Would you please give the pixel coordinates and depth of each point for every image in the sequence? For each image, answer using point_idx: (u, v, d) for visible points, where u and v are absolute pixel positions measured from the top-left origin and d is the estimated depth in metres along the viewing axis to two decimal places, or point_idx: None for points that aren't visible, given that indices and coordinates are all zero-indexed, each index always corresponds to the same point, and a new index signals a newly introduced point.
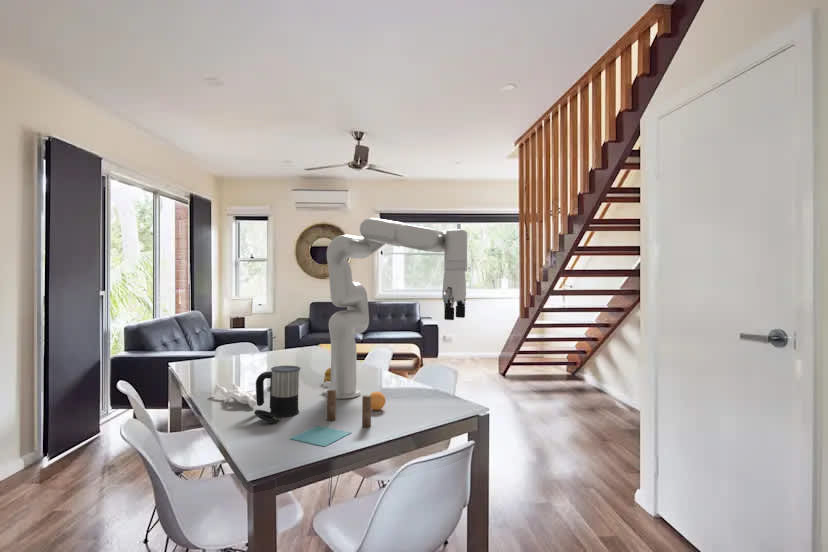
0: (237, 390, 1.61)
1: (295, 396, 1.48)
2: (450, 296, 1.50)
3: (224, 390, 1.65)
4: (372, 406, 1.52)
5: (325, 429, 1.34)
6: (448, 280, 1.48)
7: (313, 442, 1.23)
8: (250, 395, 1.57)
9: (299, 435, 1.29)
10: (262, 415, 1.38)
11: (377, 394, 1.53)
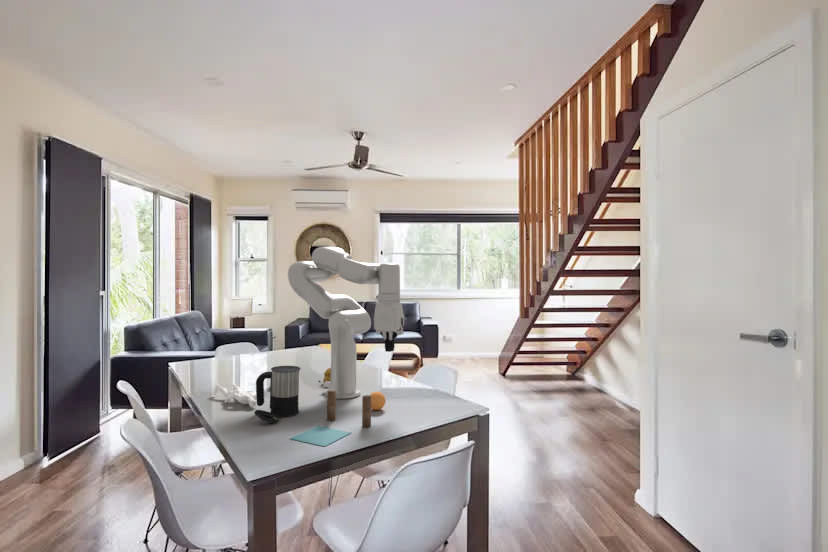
0: (237, 390, 1.61)
1: (295, 396, 1.48)
2: None
3: (224, 390, 1.65)
4: (372, 406, 1.52)
5: (325, 429, 1.34)
6: (400, 311, 1.58)
7: (313, 442, 1.23)
8: (250, 395, 1.57)
9: (299, 435, 1.29)
10: (262, 415, 1.38)
11: (377, 394, 1.53)
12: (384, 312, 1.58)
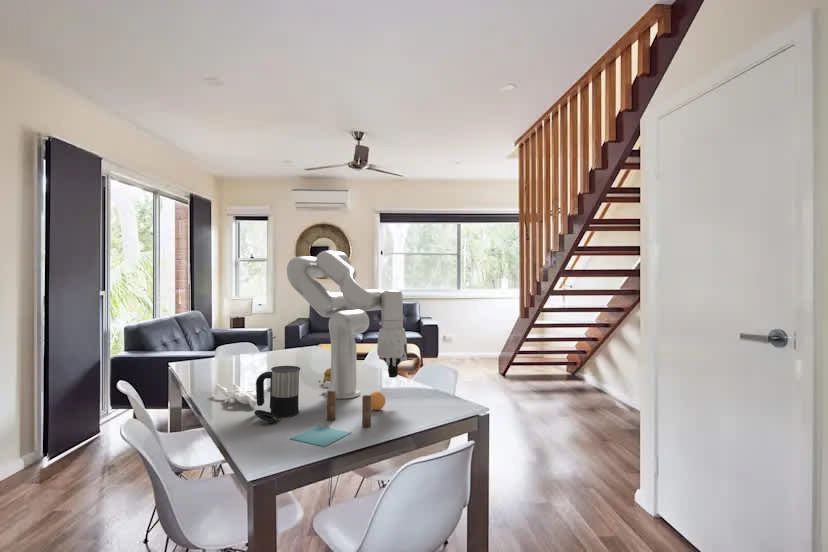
0: (238, 390, 1.61)
1: (295, 396, 1.48)
2: None
3: (225, 390, 1.65)
4: (372, 406, 1.52)
5: (325, 429, 1.34)
6: (404, 338, 1.60)
7: (313, 442, 1.23)
8: (251, 395, 1.57)
9: (299, 435, 1.29)
10: (262, 415, 1.38)
11: (377, 394, 1.53)
12: (387, 339, 1.60)
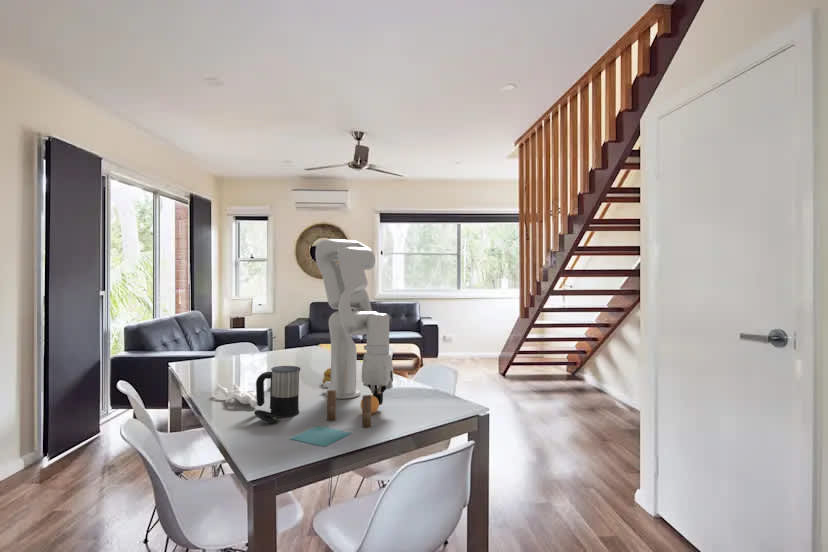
0: (238, 390, 1.61)
1: (295, 396, 1.48)
2: None
3: (225, 390, 1.65)
4: None
5: (325, 429, 1.34)
6: (390, 364, 1.52)
7: (313, 442, 1.23)
8: (251, 395, 1.57)
9: (299, 435, 1.29)
10: (262, 415, 1.38)
11: None
12: (373, 365, 1.52)
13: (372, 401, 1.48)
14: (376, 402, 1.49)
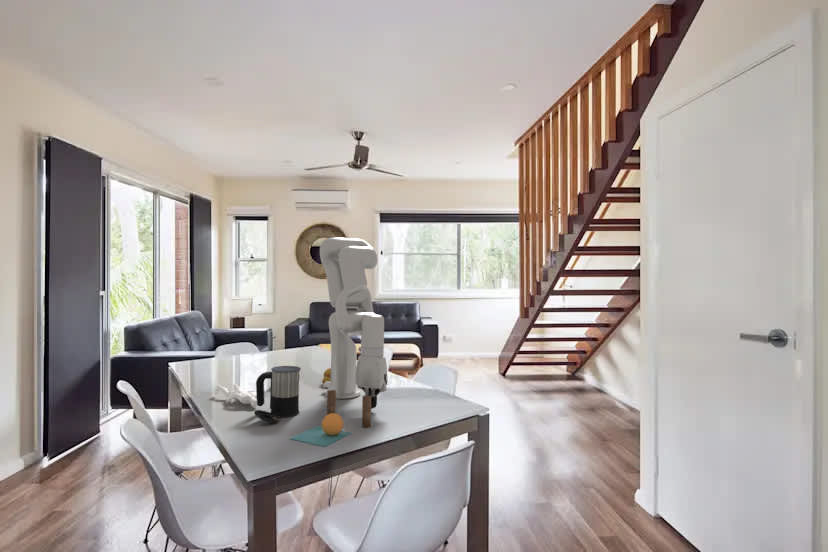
0: (239, 390, 1.61)
1: (295, 396, 1.48)
2: None
3: (226, 390, 1.65)
4: None
5: None
6: (384, 367, 1.49)
7: (313, 442, 1.23)
8: (252, 395, 1.57)
9: (299, 435, 1.29)
10: (262, 415, 1.38)
11: None
12: (366, 367, 1.50)
13: (333, 430, 1.27)
14: (338, 426, 1.28)
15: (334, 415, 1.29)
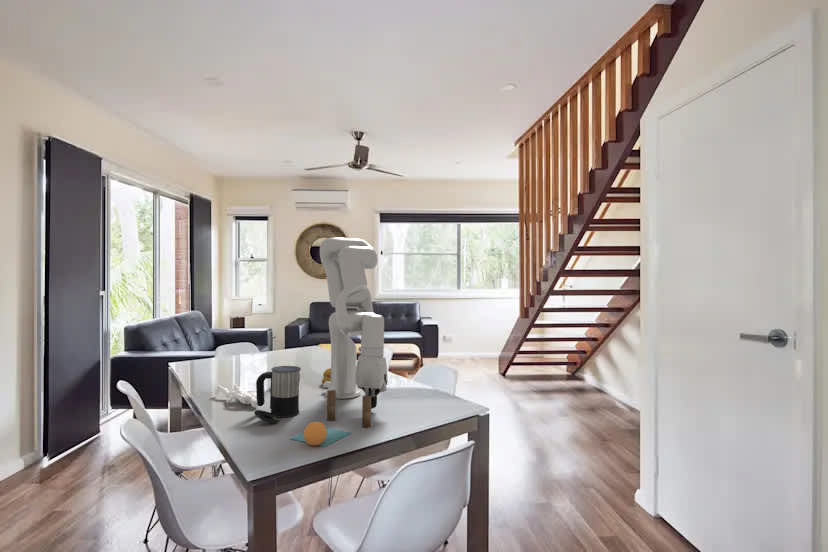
0: (239, 391, 1.61)
1: (295, 396, 1.48)
2: None
3: (226, 391, 1.65)
4: (309, 429, 1.20)
5: None
6: (384, 367, 1.49)
7: None
8: (252, 396, 1.57)
9: (299, 435, 1.29)
10: (262, 415, 1.38)
11: (321, 423, 1.23)
12: (366, 367, 1.50)
13: None
14: (326, 435, 1.22)
15: None
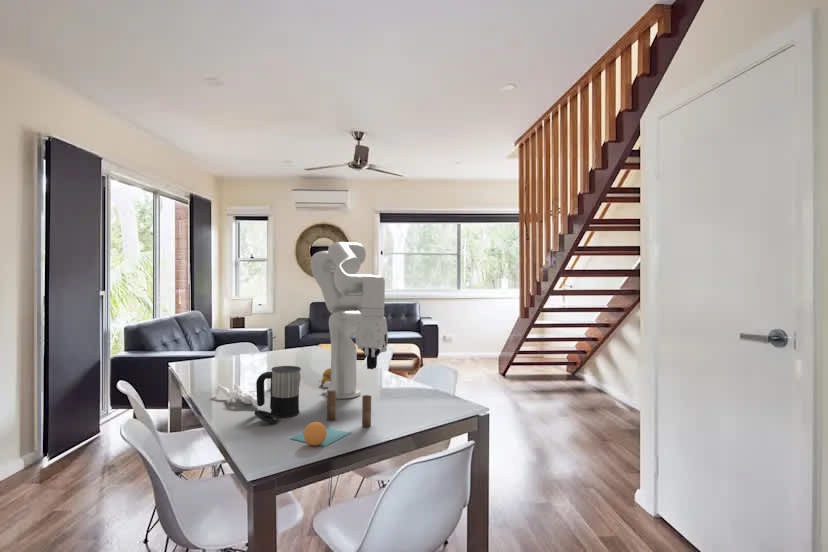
0: (240, 390, 1.61)
1: (295, 396, 1.47)
2: None
3: (227, 390, 1.65)
4: (309, 429, 1.20)
5: None
6: (384, 327, 1.49)
7: None
8: (254, 395, 1.57)
9: (299, 435, 1.29)
10: (262, 415, 1.38)
11: (321, 423, 1.23)
12: (367, 328, 1.50)
13: None
14: None
15: None
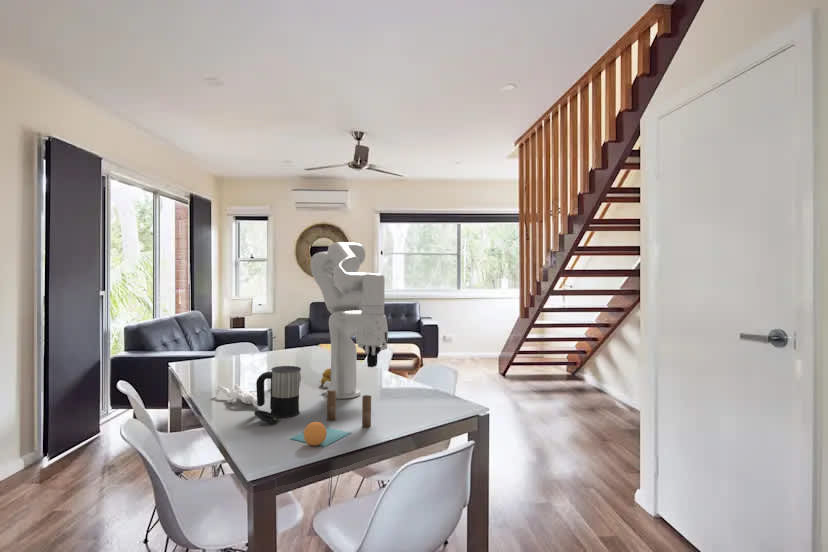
0: (241, 390, 1.61)
1: (295, 397, 1.47)
2: None
3: (227, 390, 1.65)
4: (309, 429, 1.20)
5: None
6: (384, 325, 1.49)
7: None
8: (254, 395, 1.57)
9: (299, 435, 1.29)
10: (262, 416, 1.38)
11: (321, 423, 1.23)
12: (367, 325, 1.50)
13: None
14: None
15: None
